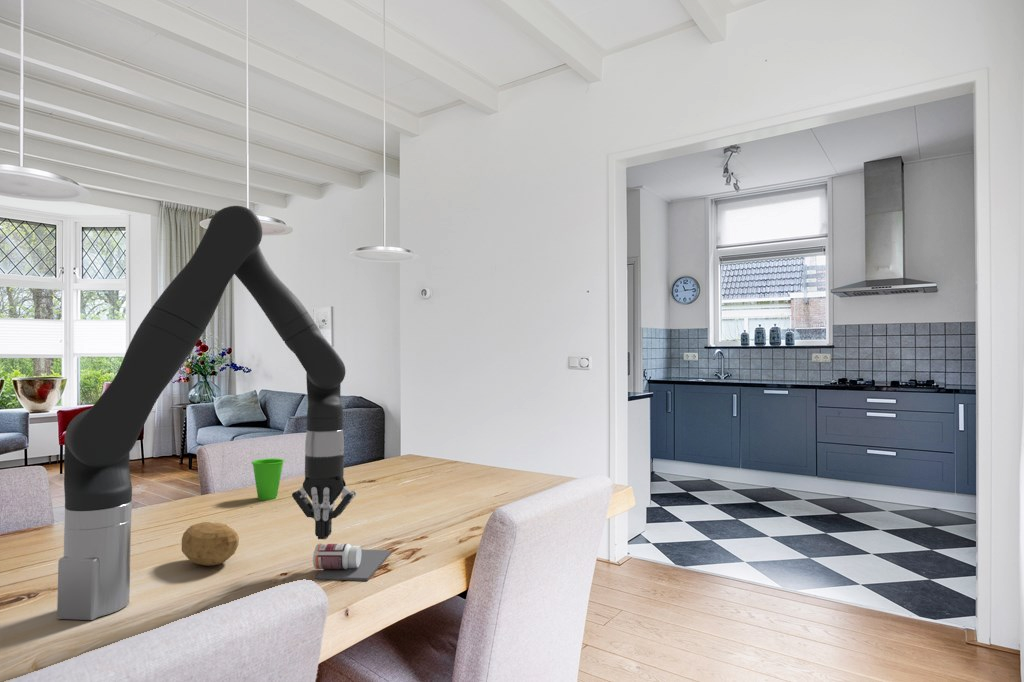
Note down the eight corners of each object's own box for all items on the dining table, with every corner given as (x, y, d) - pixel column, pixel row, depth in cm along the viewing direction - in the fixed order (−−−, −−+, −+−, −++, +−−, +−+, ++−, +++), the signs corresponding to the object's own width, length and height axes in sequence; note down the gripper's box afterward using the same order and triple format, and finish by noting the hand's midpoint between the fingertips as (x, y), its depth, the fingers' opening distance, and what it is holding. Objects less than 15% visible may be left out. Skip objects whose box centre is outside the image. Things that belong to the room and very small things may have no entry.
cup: (250, 496, 177) (251, 459, 178) (282, 493, 181) (283, 457, 181) (251, 503, 169) (251, 464, 169) (285, 500, 173) (285, 462, 173)
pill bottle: (318, 570, 117) (360, 571, 117) (310, 566, 113) (354, 567, 113) (322, 546, 120) (363, 546, 120) (315, 541, 116) (357, 541, 115)
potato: (214, 550, 128) (215, 513, 128) (250, 564, 120) (251, 524, 120) (167, 563, 120) (168, 523, 120) (201, 578, 112) (202, 536, 112)
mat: (367, 580, 111) (367, 578, 111) (316, 578, 112) (316, 576, 112) (391, 552, 127) (391, 550, 127) (346, 551, 128) (346, 548, 128)
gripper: (284, 454, 117) (283, 543, 116) (349, 455, 116) (348, 545, 115) (301, 448, 124) (299, 531, 124) (362, 449, 123) (361, 533, 123)
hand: (323, 538), depth 119 cm, fingers closed
